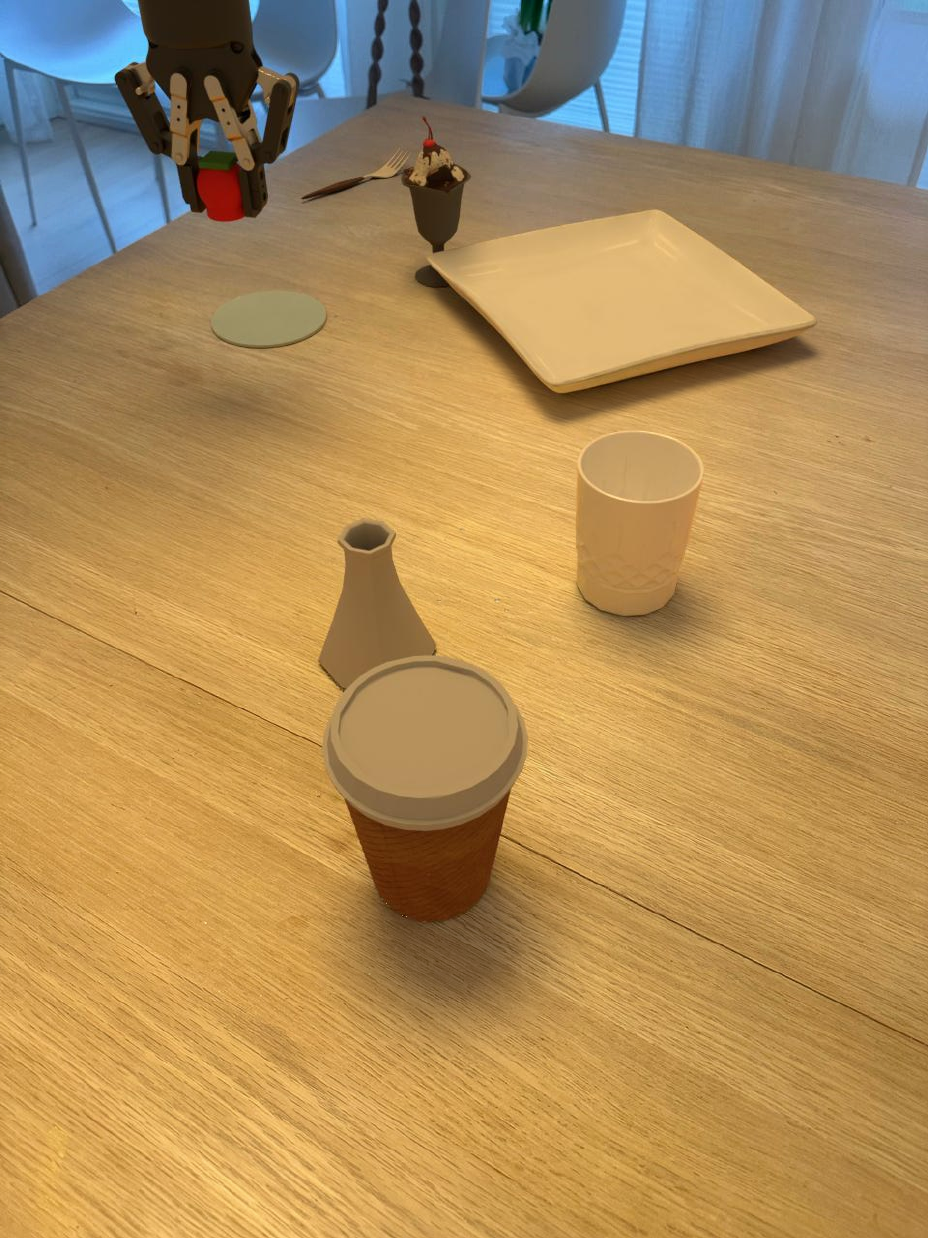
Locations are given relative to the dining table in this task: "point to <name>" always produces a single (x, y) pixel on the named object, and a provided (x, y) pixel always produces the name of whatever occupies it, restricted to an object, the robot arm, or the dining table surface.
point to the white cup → (634, 518)
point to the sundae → (435, 200)
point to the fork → (363, 177)
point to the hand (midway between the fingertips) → (227, 210)
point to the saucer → (268, 319)
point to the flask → (371, 608)
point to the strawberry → (220, 186)
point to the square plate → (617, 298)
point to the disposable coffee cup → (426, 778)
